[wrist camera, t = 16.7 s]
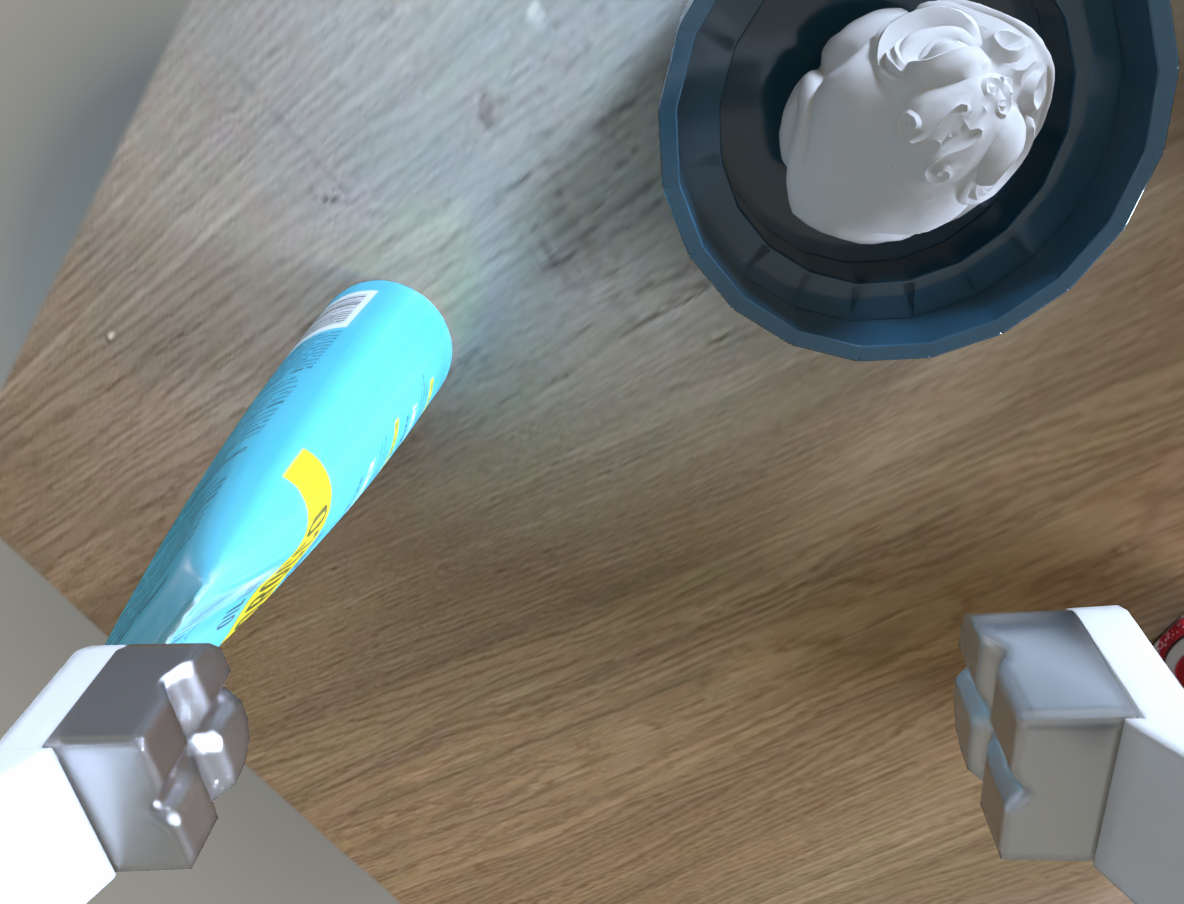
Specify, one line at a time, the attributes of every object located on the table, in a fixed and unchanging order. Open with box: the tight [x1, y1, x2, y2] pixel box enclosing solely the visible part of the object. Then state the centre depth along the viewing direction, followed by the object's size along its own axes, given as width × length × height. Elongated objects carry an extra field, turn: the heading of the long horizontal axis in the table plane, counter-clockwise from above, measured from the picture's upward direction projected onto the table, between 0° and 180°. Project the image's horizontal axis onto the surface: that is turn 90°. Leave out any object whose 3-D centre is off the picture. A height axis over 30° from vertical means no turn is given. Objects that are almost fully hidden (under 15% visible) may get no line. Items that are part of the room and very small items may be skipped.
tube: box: [105, 280, 452, 647], centre depth 26 cm, size 7×5×19 cm, turn 147°
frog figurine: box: [779, 0, 1055, 244], centre depth 26 cm, size 6×7×7 cm
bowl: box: [658, 0, 1179, 361], centre depth 27 cm, size 13×13×5 cm
